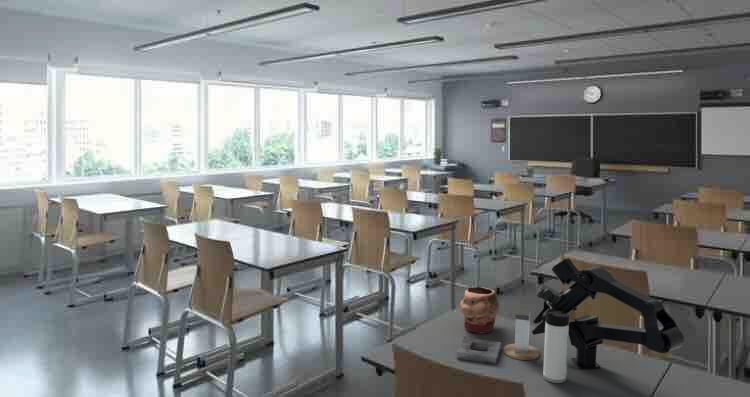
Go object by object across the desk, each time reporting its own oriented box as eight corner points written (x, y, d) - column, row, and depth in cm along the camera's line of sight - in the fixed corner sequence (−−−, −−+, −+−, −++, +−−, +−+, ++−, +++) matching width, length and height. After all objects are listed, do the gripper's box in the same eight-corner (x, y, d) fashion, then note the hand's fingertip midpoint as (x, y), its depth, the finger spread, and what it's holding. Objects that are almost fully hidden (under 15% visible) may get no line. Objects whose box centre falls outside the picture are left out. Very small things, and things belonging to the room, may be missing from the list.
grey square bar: (528, 349, 172) (530, 311, 171) (527, 354, 169) (529, 315, 167) (515, 347, 174) (517, 310, 172) (514, 352, 170) (515, 314, 168)
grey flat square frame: (500, 348, 174) (501, 342, 174) (495, 364, 163) (496, 357, 163) (463, 343, 179) (464, 337, 178) (456, 358, 167) (456, 352, 167)
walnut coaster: (544, 359, 166) (545, 357, 166) (509, 360, 166) (509, 358, 165) (532, 344, 177) (532, 342, 177) (499, 345, 176) (499, 343, 176)
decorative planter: (477, 315, 204) (478, 279, 202) (508, 322, 196) (509, 285, 194) (451, 331, 188) (452, 293, 186) (483, 340, 181) (484, 300, 178)
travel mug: (537, 375, 156) (540, 309, 153) (556, 371, 158) (559, 306, 155) (551, 385, 150) (554, 316, 147) (570, 381, 153) (574, 313, 150)
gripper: (554, 269, 173) (517, 298, 178) (553, 286, 156) (512, 318, 161) (579, 295, 172) (541, 324, 177) (581, 315, 154) (539, 347, 159)
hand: (533, 327), depth 169 cm, fingers open, 9 cm apart
